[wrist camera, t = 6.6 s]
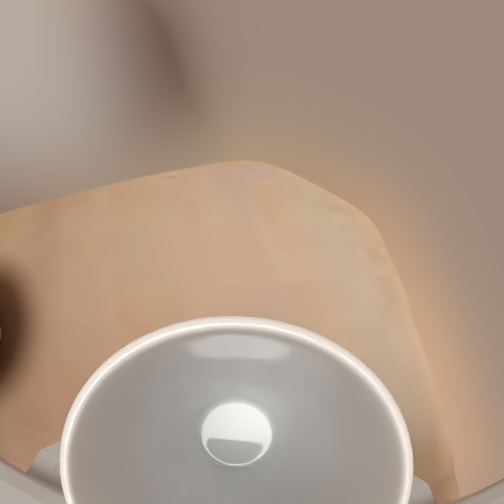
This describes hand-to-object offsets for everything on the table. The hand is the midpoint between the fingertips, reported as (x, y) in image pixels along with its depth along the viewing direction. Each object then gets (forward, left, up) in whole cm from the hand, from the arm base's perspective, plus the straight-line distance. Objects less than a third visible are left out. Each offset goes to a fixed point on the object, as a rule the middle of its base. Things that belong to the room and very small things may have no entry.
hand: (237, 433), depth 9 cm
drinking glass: (-1, 0, -9) cm, 9 cm away
